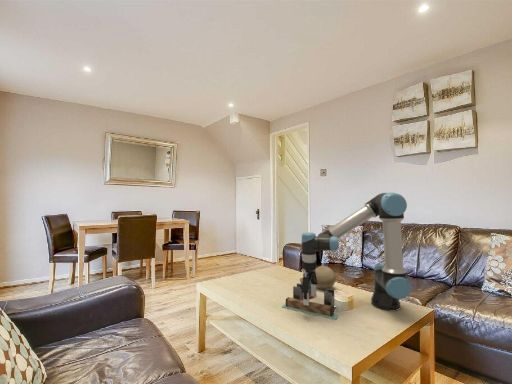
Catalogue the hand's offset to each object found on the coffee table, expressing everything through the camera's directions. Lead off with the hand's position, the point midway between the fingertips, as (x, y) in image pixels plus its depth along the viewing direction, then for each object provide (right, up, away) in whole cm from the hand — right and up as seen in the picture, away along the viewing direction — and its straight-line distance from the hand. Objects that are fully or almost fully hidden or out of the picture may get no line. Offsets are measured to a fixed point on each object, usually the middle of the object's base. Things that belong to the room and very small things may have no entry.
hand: (310, 300), depth 144 cm
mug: (+4, -6, +22) cm, 23 cm away
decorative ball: (+17, -7, +35) cm, 39 cm away
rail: (-1, -5, 0) cm, 5 cm away
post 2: (+11, -6, +3) cm, 13 cm away
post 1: (-4, -6, +11) cm, 14 cm away
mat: (-1, -6, 0) cm, 6 cm away
